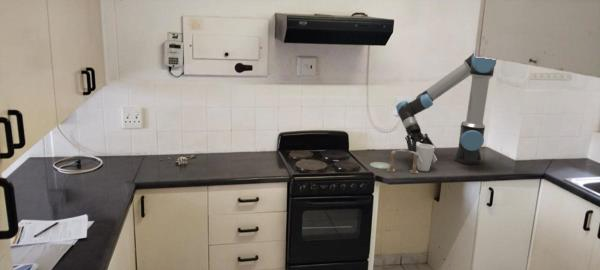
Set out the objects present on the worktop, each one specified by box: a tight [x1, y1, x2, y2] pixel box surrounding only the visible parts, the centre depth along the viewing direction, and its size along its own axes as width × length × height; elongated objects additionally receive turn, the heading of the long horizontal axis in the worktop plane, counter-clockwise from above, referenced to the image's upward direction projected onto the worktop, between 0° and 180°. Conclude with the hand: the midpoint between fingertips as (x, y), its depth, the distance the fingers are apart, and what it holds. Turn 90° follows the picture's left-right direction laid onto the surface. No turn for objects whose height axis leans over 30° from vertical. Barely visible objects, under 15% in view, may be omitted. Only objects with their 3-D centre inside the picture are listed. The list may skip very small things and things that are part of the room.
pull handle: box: [386, 148, 419, 174], centre depth 259 cm, size 16×7×11 cm, turn 86°
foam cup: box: [416, 143, 436, 172], centre depth 264 cm, size 10×9×13 cm
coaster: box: [369, 161, 390, 170], centre depth 268 cm, size 11×11×1 cm
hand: (428, 162), depth 261 cm, fingers closed on foam cup, 9 cm apart
